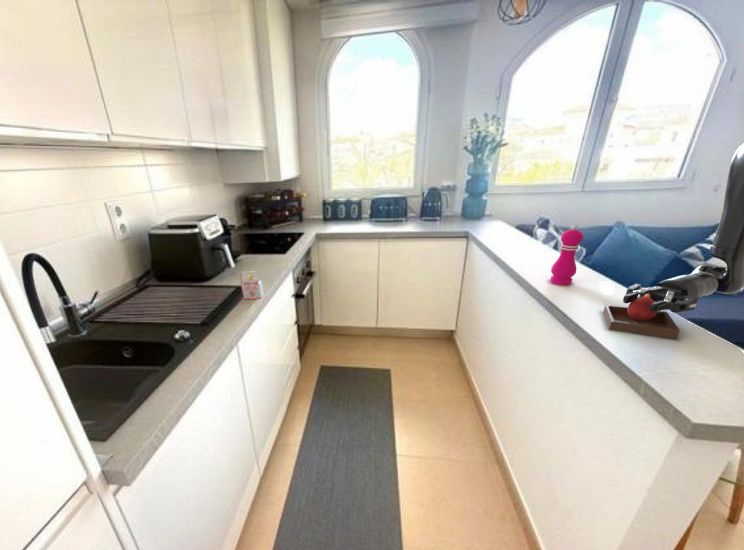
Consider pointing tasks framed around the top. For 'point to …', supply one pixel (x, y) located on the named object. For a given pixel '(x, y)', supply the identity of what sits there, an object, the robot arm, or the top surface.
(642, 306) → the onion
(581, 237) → the pepper mill
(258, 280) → the pink carton box
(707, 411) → the top surface
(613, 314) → the serving tray
